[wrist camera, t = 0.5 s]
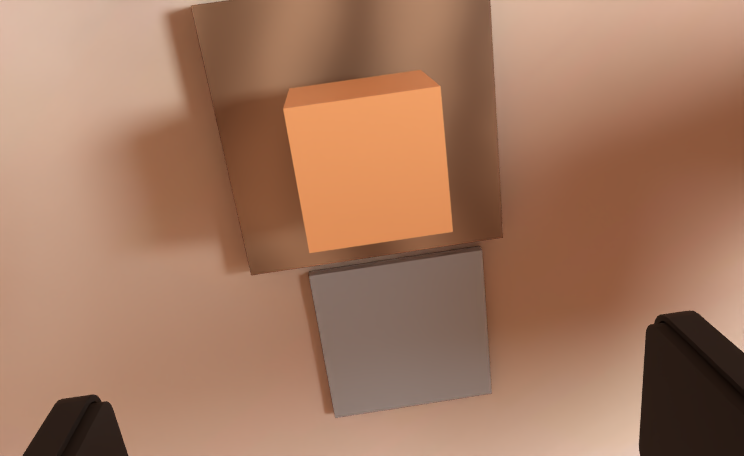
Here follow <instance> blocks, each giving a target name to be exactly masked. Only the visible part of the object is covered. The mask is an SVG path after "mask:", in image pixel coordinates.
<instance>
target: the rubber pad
mask: <svg viewBox="0 0 744 456" xmlns="http://www.w3.org/2000/svg"><path fill="white" fill-rule="evenodd" d="M309 279H310V285H311V290H312V296H313V301H314V306H315V312H316V317H317V323H318V328H319V333H320V339H321V344H322V350H323V355H324V360H325V366H326V371H327V376H328V382H329V387H330V393H331V398H332V403H333V409H334V414H335V418H338V417H345V416H351V415H358V414H364V413H370V412H377V411H383V410H390V409H396V408H402V407H409V406H415V405H422V404H428V403H434V402H441V401H447V400H453V399H460V398H466V397H473V396H479V395H485V394H492V390H491V375H490V360H489V345H488V330H487V315H486V300H485V285H484V271H483V256H482V249H481V248H480V246H477V247H470V248H463V249H457V250H450V251H443V252H437V253H430V254H423V255H417V256H410V257H403V258H397V259H390V260H384V261H377V262H370V263H364V264H357V265H350V266H344V267H337V268H330V269H324V270H317V271H310V272H309Z"/></svg>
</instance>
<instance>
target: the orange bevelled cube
mask: <svg viewBox="0 0 744 456" xmlns="http://www.w3.org/2000/svg"><path fill="white" fill-rule="evenodd" d="M283 111H284V116H285V122H286V127H287V133H288V138H289V144H290V149H291V155H292V160H293V166H294V171H295V177H296V182H297V188H298V193H299V199H300V204H301V210H302V215H303V221H304V226H305V232H306V237H307V243H308V248H309V253H314V252H321V251H328V250H335V249H341V248H348V247H355V246H361V245H368V244H375V243H381V242H388V241H395V240H402V239H408V238H415V237H422V236H428V235H435V234H442V233H448V232H453V226H452V214H451V202H450V191H449V179H448V167H447V156H446V144H445V132H444V121H443V109H442V97H441V86H440V85H438V84H437V83H436V82H435V81H434V80H432V79H431V78H430V77H429V76H428V75H426V74H425V73H424V72H423V71H421V70H416V71H409V72H402V73H395V74H387V75H380V76H373V77H366V78H359V79H352V80H345V81H338V82H331V83H324V84H317V85H310V86H303V87H296V88H289V91H288V94H287V98H286V101H285V104H284V107H283Z"/></svg>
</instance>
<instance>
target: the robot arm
mask: <svg viewBox="0 0 744 456" xmlns="http://www.w3.org/2000/svg"><path fill="white" fill-rule="evenodd" d="M639 451H640V456H744V353H743V352H742V351H741V350H740V349H739V348H737V347H736V346H735V345H734V344H733V343H732V342H731V341H729V340H728V339H727V338H726V337H725V336H724V335H722V334H721V333H720V332H719V331H718V330H717V329H715V328H714V327H713V326H712V325H711V324H710V323H708V322H707V321H706V320H705V319H704V318H703V317H701V316H700V315H699V314H698V313H696V312H695V311H683V312H676V313H669V314H662V315H659V316H657V318H656V320H655V323H654V324H651V325H649V326H648V327H647V330H646V340H645V356H644V372H643V388H642V404H641V420H640V436H639ZM23 456H128V453H127V450H126V447H125V444H124V441H123V438H122V435H121V432H120V429H119V426H118V423H117V420H116V417H115V414H114V411H113V408H112V406H111V404H110V403H109V402H107V401H106V402H101V400H100V398H99V397H98V396H97V395H87V396H80V397H73V398H66V399H61V400H58V402H57V403H56V404H55V405H54V407H53V408H52V410H51V411H50V413H49V415H48V416H47V418H46V419H45V421H44V422H43V424H42V426H41V427H40V429H39V430H38V432H37V434H36V435H35V437H34V438H33V440H32V441H31V443H30V445H29V446H28V448H27V449H26V451H25V452H24V454H23Z"/></svg>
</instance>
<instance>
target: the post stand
mask: <svg viewBox="0 0 744 456" xmlns="http://www.w3.org/2000/svg"><path fill="white" fill-rule="evenodd" d="M191 9H192V13H193V18H194V22H195V26H196V31H197V35H198V40H199V44H200V49H201V53H202V58H203V62H204V67H205V71H206V76H207V80H208V84H209V89H210V93H211V98H212V102H213V107H214V111H215V116H216V120H217V125H218V129H219V134H220V138H221V142H222V147H223V151H224V156H225V160H226V165H227V169H228V174H229V178H230V183H231V187H232V192H233V196H234V200H235V205H236V209H237V214H238V218H239V223H240V227H241V232H242V236H243V241H244V245H245V250H246V254H247V258H248V263H249V267H250V272H251V275H256V274H263V273H270V272H276V271H283V270H290V269H296V268H303V267H310V266H316V265H323V264H330V263H336V262H343V261H350V260H356V259H363V258H370V257H376V256H383V255H390V254H396V253H403V252H410V251H416V250H423V249H430V248H436V247H443V246H450V245H456V244H463V243H470V242H476V241H483V240H490V239H496V238H503V232H502V213H501V194H500V175H499V157H498V138H497V119H496V100H495V81H494V62H493V43H492V25H491V6H490V0H228V1H221V2H214V3H207V4H199V5H192V6H191ZM416 70H421V71H423V72H424V73H425V74H426V75H428V76H429V77H430V78H431V79H432V80H434V81H435V82H436V83H437V84H438V85H440V86H441V97H442V109H443V121H444V132H445V144H446V156H447V167H448V179H449V191H450V202H451V214H452V226H453V232H448V233H442V234H435V235H428V236H422V237H415V238H408V239H402V240H395V241H388V242H381V243H375V244H368V245H361V246H355V247H348V248H341V249H335V250H328V251H321V252H314V253H309V248H308V243H307V237H306V232H305V226H304V221H303V215H302V210H301V204H300V199H299V193H298V188H297V182H296V177H295V171H294V166H293V160H292V155H291V149H290V144H289V138H288V133H287V127H286V122H285V116H284V111H283V107H284V104H285V101H286V98H287V94H288V91H289V88H296V87H303V86H310V85H317V84H324V83H331V82H338V81H345V80H352V79H359V78H366V77H373V76H380V75H387V74H395V73H402V72H409V71H416Z"/></svg>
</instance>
